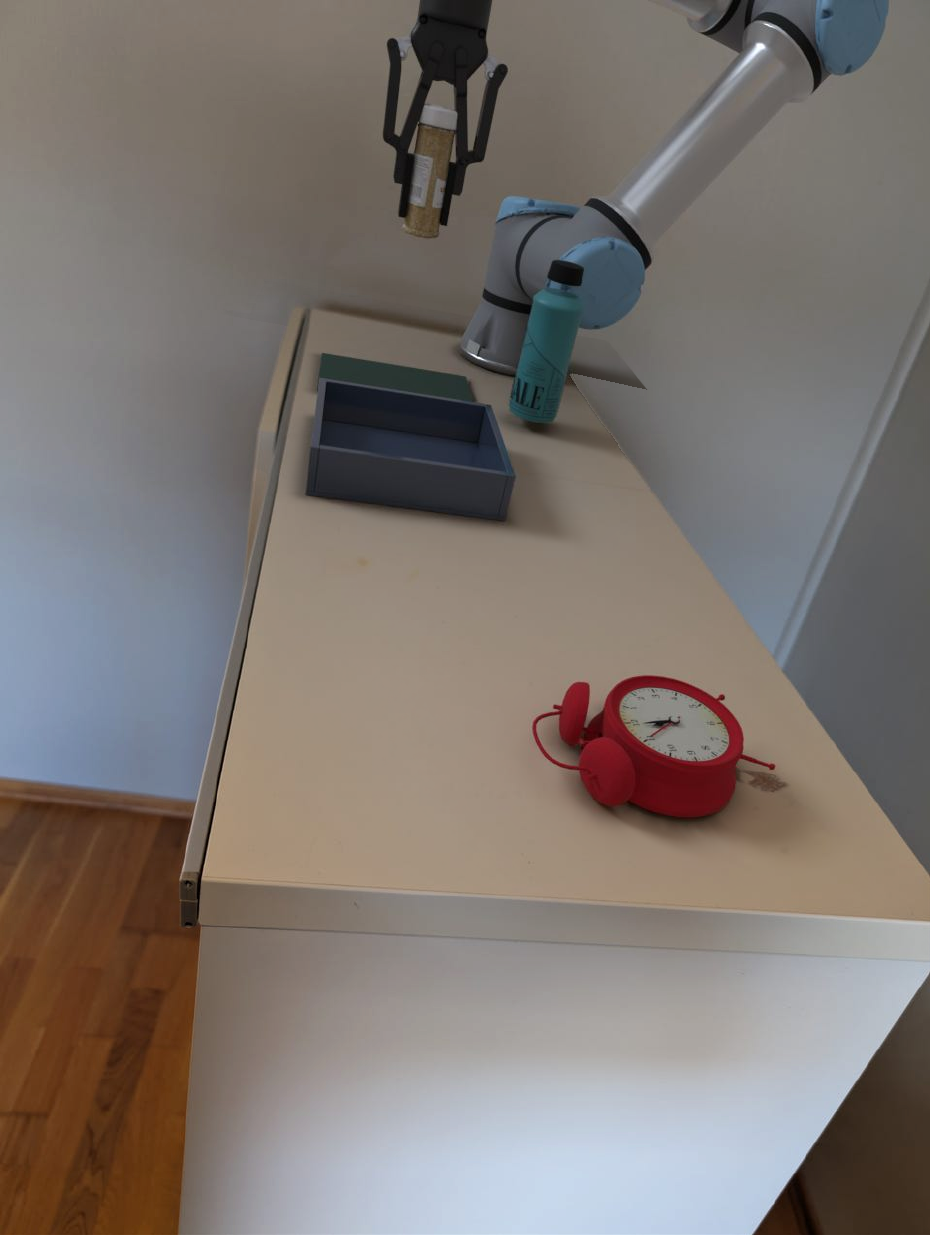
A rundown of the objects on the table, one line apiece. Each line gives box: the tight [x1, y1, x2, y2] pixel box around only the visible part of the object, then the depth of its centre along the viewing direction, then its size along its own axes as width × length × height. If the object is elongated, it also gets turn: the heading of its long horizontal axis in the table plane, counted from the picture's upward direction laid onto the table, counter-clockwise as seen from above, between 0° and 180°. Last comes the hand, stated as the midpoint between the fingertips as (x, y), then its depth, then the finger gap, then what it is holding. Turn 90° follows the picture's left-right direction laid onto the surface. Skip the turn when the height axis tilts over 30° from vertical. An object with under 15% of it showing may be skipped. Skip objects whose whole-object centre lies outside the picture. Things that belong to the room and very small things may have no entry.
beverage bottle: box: [507, 260, 584, 424], centre depth 105 cm, size 6×7×20 cm
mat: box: [316, 352, 474, 402], centre depth 113 cm, size 20×14×1 cm
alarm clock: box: [531, 674, 776, 818], centre depth 57 cm, size 10×6×15 cm
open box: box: [305, 377, 517, 522], centre depth 90 cm, size 20×20×5 cm
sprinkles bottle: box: [401, 103, 457, 240], centre depth 99 cm, size 5×5×14 cm
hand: (422, 219), depth 102 cm, fingers closed on sprinkles bottle, 4 cm apart
